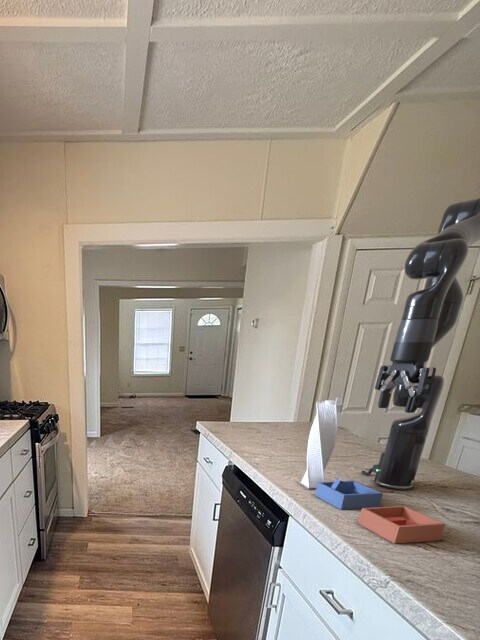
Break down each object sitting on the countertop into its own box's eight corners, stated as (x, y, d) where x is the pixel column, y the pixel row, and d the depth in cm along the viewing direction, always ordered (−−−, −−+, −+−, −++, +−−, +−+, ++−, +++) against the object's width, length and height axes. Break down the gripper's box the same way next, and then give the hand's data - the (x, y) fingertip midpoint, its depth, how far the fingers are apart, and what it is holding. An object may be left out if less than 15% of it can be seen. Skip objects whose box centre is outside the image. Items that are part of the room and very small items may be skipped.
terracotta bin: (358, 523, 100) (361, 508, 99) (399, 520, 101) (404, 505, 100) (394, 543, 90) (399, 526, 88) (440, 540, 91) (446, 523, 89)
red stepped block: (384, 533, 93) (388, 522, 92) (373, 527, 96) (376, 516, 95) (419, 531, 94) (423, 520, 93) (407, 525, 97) (410, 514, 96)
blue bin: (315, 495, 119) (317, 482, 118) (350, 493, 121) (353, 480, 119) (340, 509, 109) (344, 495, 107) (379, 507, 110) (383, 493, 108)
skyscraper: (333, 490, 123) (354, 396, 112) (307, 490, 123) (325, 396, 113) (319, 482, 131) (338, 393, 120) (294, 482, 131) (311, 393, 120)
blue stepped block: (337, 490, 111) (342, 481, 110) (328, 486, 114) (334, 477, 113) (361, 500, 113) (367, 492, 112) (352, 496, 116) (358, 487, 115)
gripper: (456, 339, 89) (434, 414, 95) (403, 340, 102) (387, 406, 108) (425, 340, 88) (405, 415, 94) (376, 341, 101) (361, 406, 107)
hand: (395, 410), depth 101 cm, fingers open, 8 cm apart
